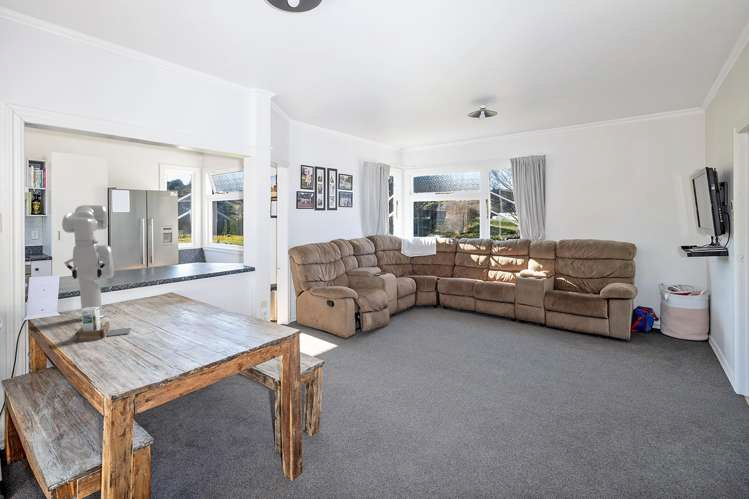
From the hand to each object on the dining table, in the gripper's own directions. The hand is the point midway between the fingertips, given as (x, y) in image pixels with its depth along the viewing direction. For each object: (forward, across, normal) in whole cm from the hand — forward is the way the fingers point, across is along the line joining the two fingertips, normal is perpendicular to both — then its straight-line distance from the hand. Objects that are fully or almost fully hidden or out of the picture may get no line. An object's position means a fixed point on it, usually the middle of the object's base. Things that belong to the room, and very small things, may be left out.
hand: (87, 277), depth 191 cm
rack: (+29, -2, +4) cm, 29 cm away
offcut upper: (+26, -1, 0) cm, 26 cm away
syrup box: (+29, -2, +7) cm, 30 cm away
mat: (+28, -13, +5) cm, 32 cm away
